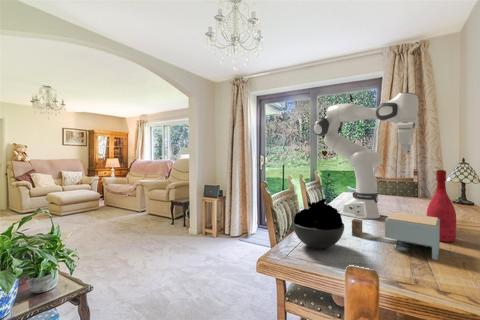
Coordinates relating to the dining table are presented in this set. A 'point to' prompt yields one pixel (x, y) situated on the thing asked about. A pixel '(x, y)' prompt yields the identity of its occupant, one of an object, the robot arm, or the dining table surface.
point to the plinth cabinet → (414, 230)
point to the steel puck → (401, 247)
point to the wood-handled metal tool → (358, 233)
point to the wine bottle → (443, 210)
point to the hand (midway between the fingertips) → (406, 154)
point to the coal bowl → (318, 225)
